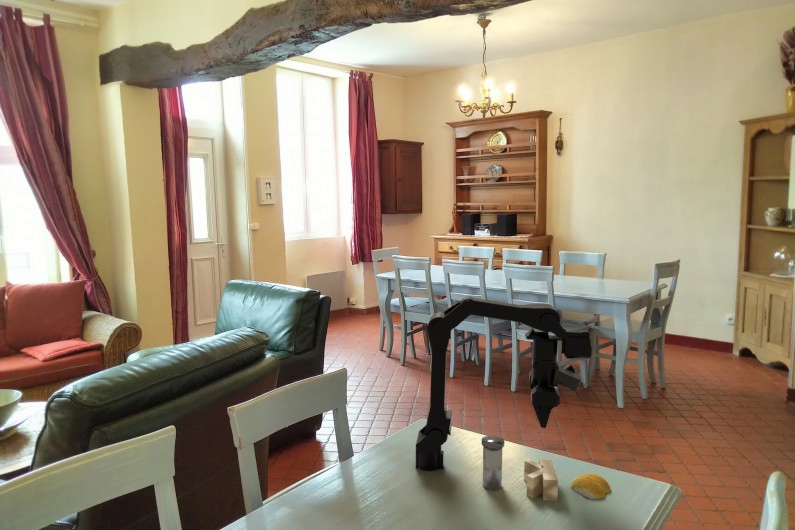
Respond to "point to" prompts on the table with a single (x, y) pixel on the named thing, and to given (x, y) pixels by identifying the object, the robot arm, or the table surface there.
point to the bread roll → (591, 486)
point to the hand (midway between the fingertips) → (542, 420)
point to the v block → (541, 479)
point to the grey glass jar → (492, 462)
